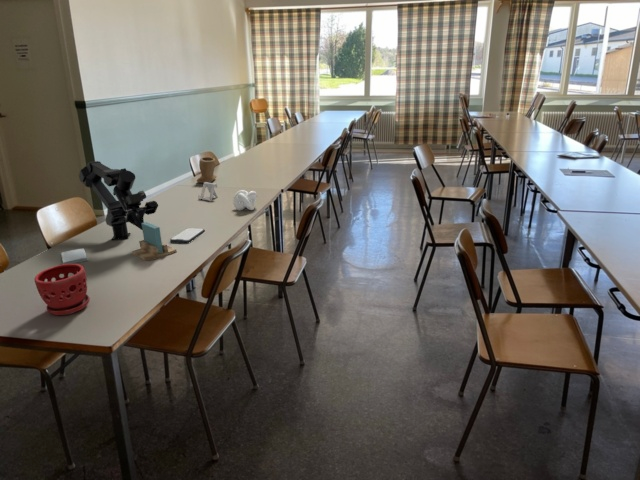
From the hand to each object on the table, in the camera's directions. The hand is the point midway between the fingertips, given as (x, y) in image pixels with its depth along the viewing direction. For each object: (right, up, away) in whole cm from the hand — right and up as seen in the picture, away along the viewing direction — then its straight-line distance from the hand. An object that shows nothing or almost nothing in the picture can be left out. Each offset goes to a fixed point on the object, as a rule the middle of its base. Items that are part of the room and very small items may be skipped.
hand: (143, 229), depth 187 cm
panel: (+5, -8, -2) cm, 9 cm away
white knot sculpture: (+32, +11, +51) cm, 61 cm away
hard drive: (-25, -11, -3) cm, 28 cm away
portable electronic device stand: (+9, +18, +72) cm, 75 cm away
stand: (+5, -9, -1) cm, 10 cm away
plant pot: (-7, -25, -42) cm, 50 cm away
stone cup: (-1, +32, +112) cm, 116 cm away
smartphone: (+13, -3, +16) cm, 21 cm away
